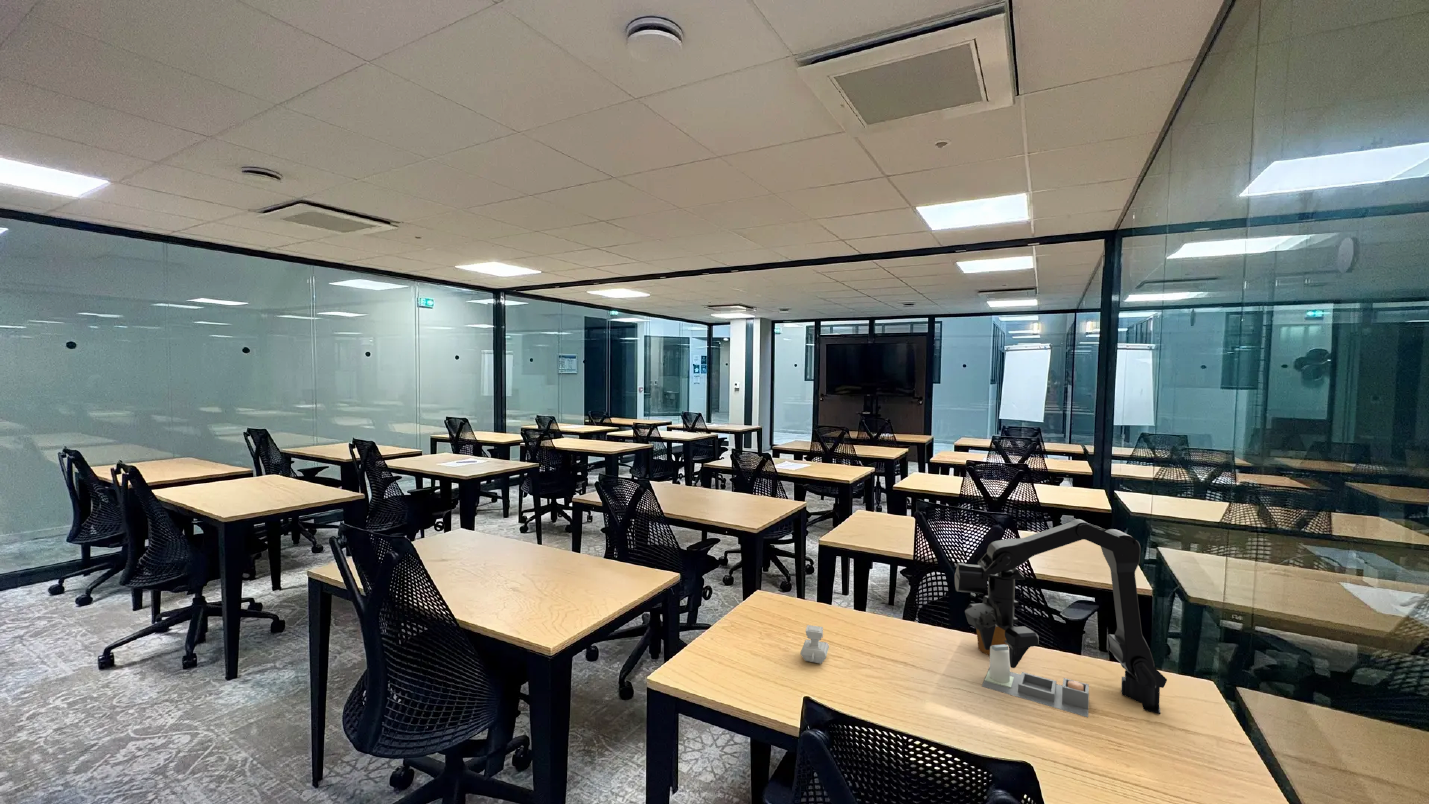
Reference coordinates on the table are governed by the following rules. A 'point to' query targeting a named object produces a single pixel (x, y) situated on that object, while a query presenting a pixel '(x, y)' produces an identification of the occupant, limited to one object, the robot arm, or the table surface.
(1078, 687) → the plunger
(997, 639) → the disposable coffee cup
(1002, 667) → the cartridge
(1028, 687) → the housing
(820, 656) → the stamp
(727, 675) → the table surface
